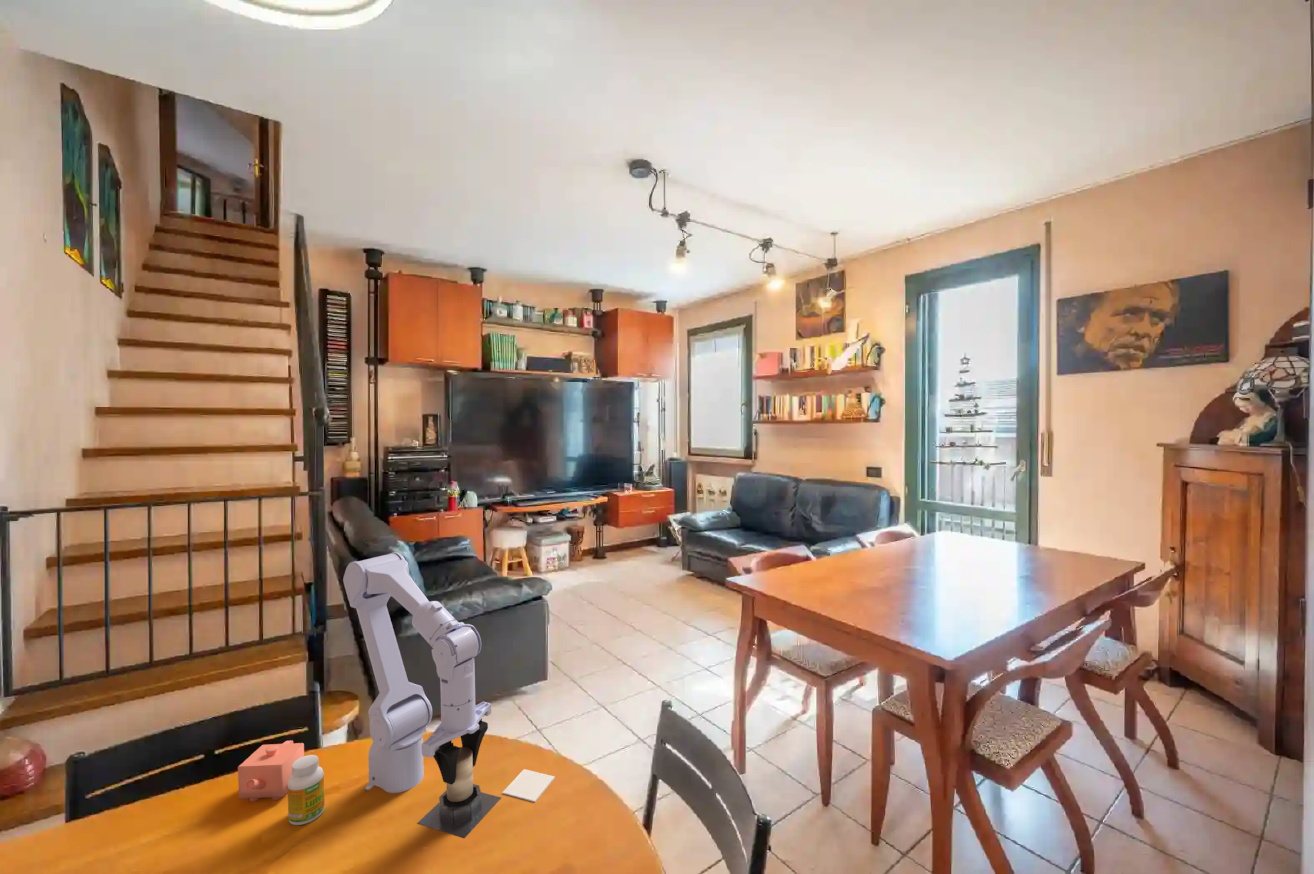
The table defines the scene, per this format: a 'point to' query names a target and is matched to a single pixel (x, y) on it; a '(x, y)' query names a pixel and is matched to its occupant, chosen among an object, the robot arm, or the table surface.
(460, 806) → the housing
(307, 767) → the supplement bottle
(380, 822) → the table surface
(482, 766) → the table surface
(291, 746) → the pink cube teapot
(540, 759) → the table surface
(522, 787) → the tile pad
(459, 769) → the tan cylinder
